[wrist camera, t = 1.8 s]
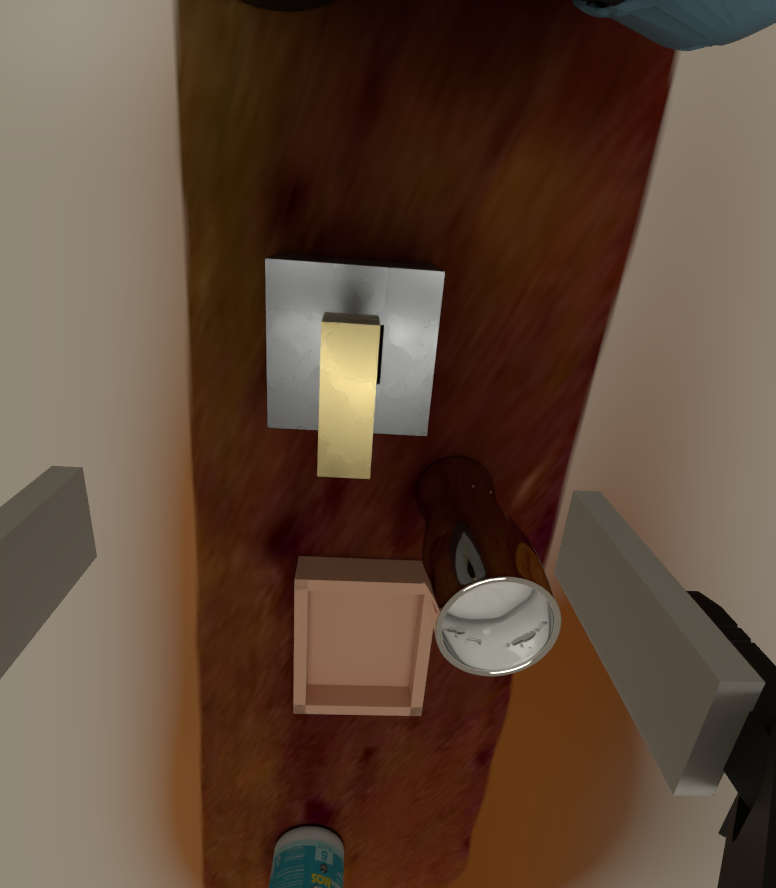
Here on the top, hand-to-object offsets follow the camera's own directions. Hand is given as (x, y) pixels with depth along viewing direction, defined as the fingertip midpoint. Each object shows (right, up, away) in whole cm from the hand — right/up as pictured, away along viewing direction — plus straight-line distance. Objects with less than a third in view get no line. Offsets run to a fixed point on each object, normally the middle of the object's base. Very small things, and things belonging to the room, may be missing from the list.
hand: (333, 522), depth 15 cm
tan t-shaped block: (-1, +10, +22) cm, 24 cm away
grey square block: (-1, +10, +22) cm, 24 cm away
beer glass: (+7, -1, +27) cm, 28 cm away
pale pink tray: (-1, -14, +32) cm, 34 cm away
